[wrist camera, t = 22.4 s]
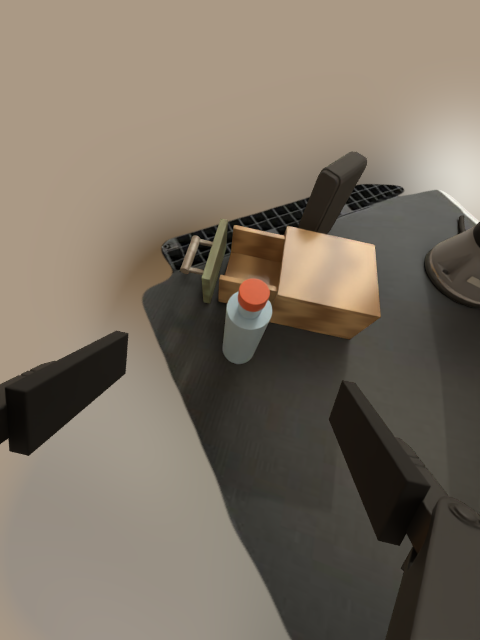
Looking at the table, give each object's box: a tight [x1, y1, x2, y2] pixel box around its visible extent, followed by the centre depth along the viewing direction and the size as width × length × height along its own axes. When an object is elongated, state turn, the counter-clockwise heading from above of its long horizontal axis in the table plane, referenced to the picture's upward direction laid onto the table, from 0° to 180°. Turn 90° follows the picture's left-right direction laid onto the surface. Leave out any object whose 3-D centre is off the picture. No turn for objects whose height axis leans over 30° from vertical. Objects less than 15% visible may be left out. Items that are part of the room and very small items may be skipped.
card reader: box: [298, 152, 367, 234], centre depth 43 cm, size 9×4×15 cm, turn 134°
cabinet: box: [269, 226, 381, 339], centre depth 40 cm, size 14×13×8 cm
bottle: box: [223, 279, 272, 364], centre depth 30 cm, size 5×5×16 cm
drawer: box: [180, 219, 285, 306], centre depth 40 cm, size 18×12×7 cm
